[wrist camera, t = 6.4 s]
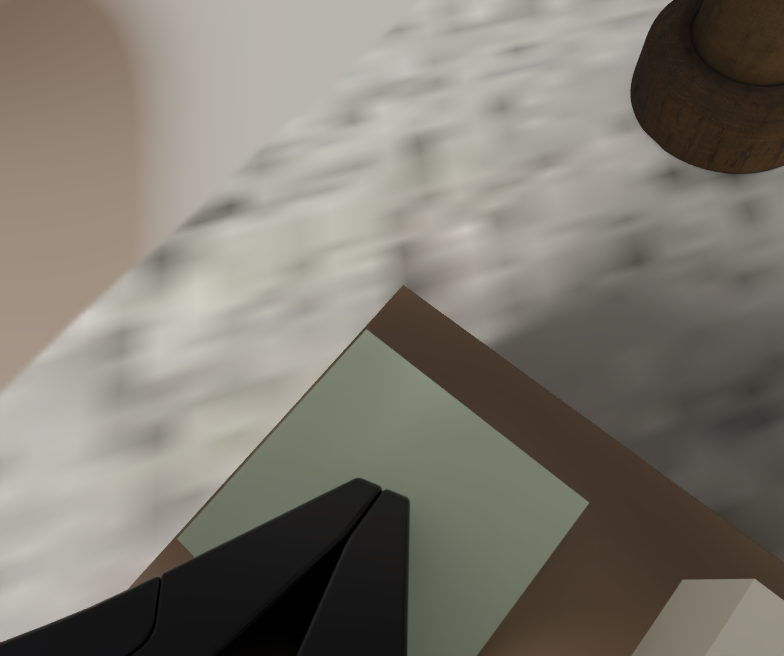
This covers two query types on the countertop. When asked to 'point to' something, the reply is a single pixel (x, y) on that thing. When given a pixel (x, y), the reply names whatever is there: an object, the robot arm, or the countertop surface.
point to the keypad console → (588, 479)
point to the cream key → (717, 621)
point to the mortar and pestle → (715, 84)
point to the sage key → (410, 491)
